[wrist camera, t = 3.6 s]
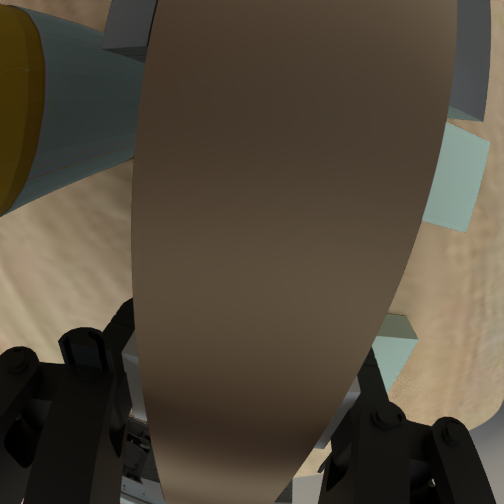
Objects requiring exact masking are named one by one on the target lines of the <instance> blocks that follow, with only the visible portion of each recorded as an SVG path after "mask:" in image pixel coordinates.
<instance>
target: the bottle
mask: <svg viewBox="0 0 504 504" xmlns="http://www.w3.org/2000/svg"><path fill="white" fill-rule="evenodd" d="M103 37H104V33H103V32H100V31H97V30H94V29H92V28H89V27H86V26H83V25H80V24H77V23H74V22H71V21H68V20H65V19H62V18H58V17H55V16H52V15H48V14H44V13H41V12H37V11H33V10H29V9H25V8H21V7H17V6H12V5H2V4H0V217H2V216H3V215H5V214H7V213H9V212H11V211H13V210H15V209H17V208H19V207H21V206H23V205H25V204H27V203H29V202H31V201H33V200H35V199H37V198H40V197H42V196H44V195H46V194H48V193H50V192H53V191H55V190H57V189H59V188H62V187H64V186H66V185H69V184H71V183H73V182H76V181H78V180H80V179H83V178H85V177H88V176H90V175H93V174H95V173H98V172H100V171H103V170H106V169H108V168H111V167H114V166H116V165H118V164H120V163H123V162H125V161H127V160H129V159H132V158H133V157H134V152H135V140H136V129H137V119H138V110H139V102H140V95H141V87H142V81H143V74H144V68H145V63H143V62H140V61H137V60H134V59H131V58H128V57H125V56H122V55H119V54H115V53H112V52H109V51H105V50H102V49H101V47H102V42H103Z"/></svg>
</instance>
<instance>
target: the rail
mask: <svg viewBox="0 0 504 504" xmlns="http://www.w3.org/2000/svg"><path fill="white" fill-rule="evenodd" d="M456 35H457V0H158V4H157V8H156V12H155V16H154V21H153V25H152V30H151V35H150V40H149V45H148V50H147V56H146V62H145V68H144V74H143V81H142V87H141V95H140V102H139V110H138V119H137V129H136V140H135V152H134V166H133V184H132V215H131V256H132V287H133V305H134V320H135V332H136V343H137V352H138V361H139V370H140V377H141V385H142V392H143V398H144V405H145V411H146V417H147V423H148V428H149V433H150V439H151V444H152V448H153V453H154V458H155V462H156V467H157V471H158V475H159V479H160V483H161V487H162V491H163V495H164V498H165V502H166V504H273V503H274V501H275V500H276V499H277V498H278V496H279V495H280V494H281V493H282V491H283V490H284V489H285V487H286V486H287V485H288V483H289V482H290V481H291V479H292V478H293V477H294V475H295V474H296V472H297V471H298V470H299V468H300V467H301V465H302V464H303V463H304V461H305V460H306V458H307V457H308V455H309V454H310V452H311V451H312V449H313V448H314V446H315V445H316V443H317V442H318V440H319V439H320V437H321V436H322V434H323V433H324V431H325V429H326V428H327V426H328V425H329V423H330V421H331V420H332V418H333V416H334V415H335V413H336V411H337V410H338V408H339V406H340V405H341V403H342V401H343V399H344V398H345V396H346V394H347V392H348V391H349V389H350V387H351V385H352V383H353V381H354V380H355V378H356V376H357V374H358V372H359V370H360V368H361V366H362V364H363V362H364V360H365V359H366V357H367V355H368V353H369V351H370V348H371V346H372V344H373V342H374V340H375V338H376V336H377V334H378V332H379V330H380V327H381V325H382V323H383V321H384V319H385V316H386V314H387V312H388V309H389V307H390V305H391V302H392V300H393V298H394V295H395V293H396V290H397V288H398V285H399V283H400V280H401V278H402V275H403V273H404V270H405V267H406V265H407V262H408V259H409V257H410V254H411V251H412V248H413V245H414V242H415V239H416V236H417V233H418V230H419V227H420V224H421V221H422V218H423V215H424V211H425V208H426V205H427V201H428V198H429V194H430V190H431V187H432V183H433V179H434V175H435V171H436V167H437V163H438V159H439V154H440V150H441V145H442V141H443V136H444V131H445V125H446V120H447V114H448V108H449V102H450V95H451V88H452V80H453V72H454V62H455V50H456Z"/></svg>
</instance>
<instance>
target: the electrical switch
mask: <svg viewBox="0 0 504 504" xmlns="http://www.w3.org/2000/svg"><path fill="white" fill-rule="evenodd" d="M130 421H133V422H130ZM127 423H128V434H127V441H126V449H125V457H124V465H123V475H122V485H121V496H120V501H121V502H123V503H126V504H166V502H165V501H163V500H160V499H156V498H152V497H149V496H148V495H147V493H146V490H145V488H144V485H143V483H142V480H141V478H140V477H141V474H142V471H143V468H144V465H145V462H146V459H147V456H148V453H149V450H150V447H151V440H149V439H147V438H145V436H146V435H150V433H149V428H148V426H147V425H145V424H143V423H141V422H139V421H137V420H135V419H133V418H130V417H127ZM140 426H141V427H140ZM142 430H143V433H142V434H141V435H139V434H140V433H141V432H142Z"/></svg>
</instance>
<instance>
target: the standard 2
mask: <svg viewBox="0 0 504 504" xmlns="http://www.w3.org/2000/svg"><path fill="white" fill-rule="evenodd" d="M157 4H158V0H112V3H111V6H110V10H109V14H108V19H107V23H106V28H105V32H104V37H103V42H102V47H101V49H102V50H105V51H109V52H112V53H115V54H119V55H122V56H125V57H128V58H131V59H134V60H137V61H140V62H143V63H145V62H146V56H147V50H148V45H149V40H150V35H151V30H152V25H153V21H154V16H155V12H156V8H157ZM490 50H491V9H490V0H457V35H456V50H455V62H454V72H453V80H452V88H451V95H450V102H449V108H448V114H447V118H452V119H463V120H472V121H481V122H483V119H484V113H485V106H486V99H487V90H488V80H489V68H490Z"/></svg>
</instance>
